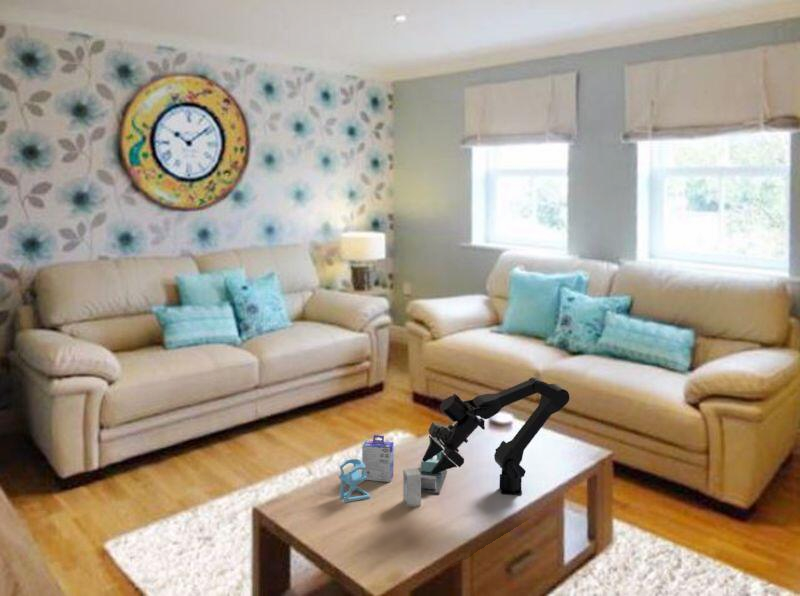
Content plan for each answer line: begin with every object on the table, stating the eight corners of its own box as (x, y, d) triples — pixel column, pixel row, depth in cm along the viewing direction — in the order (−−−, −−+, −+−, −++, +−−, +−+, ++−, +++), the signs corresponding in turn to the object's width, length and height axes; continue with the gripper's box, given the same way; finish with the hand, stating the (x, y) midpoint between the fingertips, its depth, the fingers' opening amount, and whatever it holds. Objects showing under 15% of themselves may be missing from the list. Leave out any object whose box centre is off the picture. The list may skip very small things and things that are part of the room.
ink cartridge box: (394, 475, 221) (394, 435, 219) (390, 482, 216) (390, 441, 213) (366, 472, 223) (365, 432, 221) (362, 480, 218) (361, 439, 215)
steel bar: (417, 498, 205) (417, 467, 203) (420, 505, 201) (421, 473, 199) (403, 500, 204) (403, 469, 202) (407, 507, 200) (407, 475, 198)
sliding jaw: (427, 457, 233) (427, 448, 232) (446, 459, 231) (446, 449, 230) (421, 471, 222) (421, 461, 221) (441, 473, 221) (441, 463, 220)
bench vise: (418, 469, 225) (418, 457, 225) (447, 472, 223) (447, 459, 222) (408, 491, 210) (408, 477, 209) (439, 494, 208) (439, 481, 207)
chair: (335, 496, 207) (334, 461, 205) (357, 488, 212) (356, 454, 210) (348, 505, 201) (347, 469, 199) (370, 497, 206) (370, 462, 204)
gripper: (435, 404, 209) (402, 439, 208) (454, 425, 191) (418, 464, 190) (458, 425, 212) (425, 460, 211) (479, 447, 194) (443, 486, 194)
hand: (427, 467), depth 202 cm, fingers open, 9 cm apart
